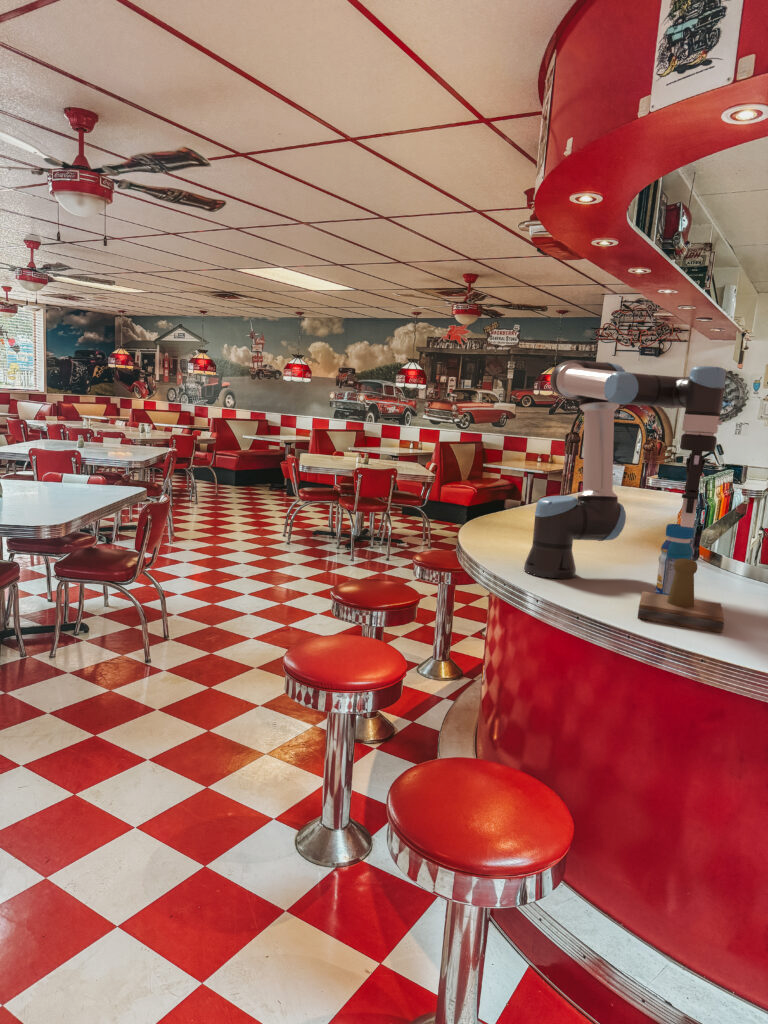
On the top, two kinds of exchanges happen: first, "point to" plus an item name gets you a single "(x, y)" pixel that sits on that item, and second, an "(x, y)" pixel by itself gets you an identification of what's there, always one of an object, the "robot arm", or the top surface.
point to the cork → (683, 583)
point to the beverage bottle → (673, 555)
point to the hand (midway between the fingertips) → (686, 523)
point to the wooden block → (681, 612)
